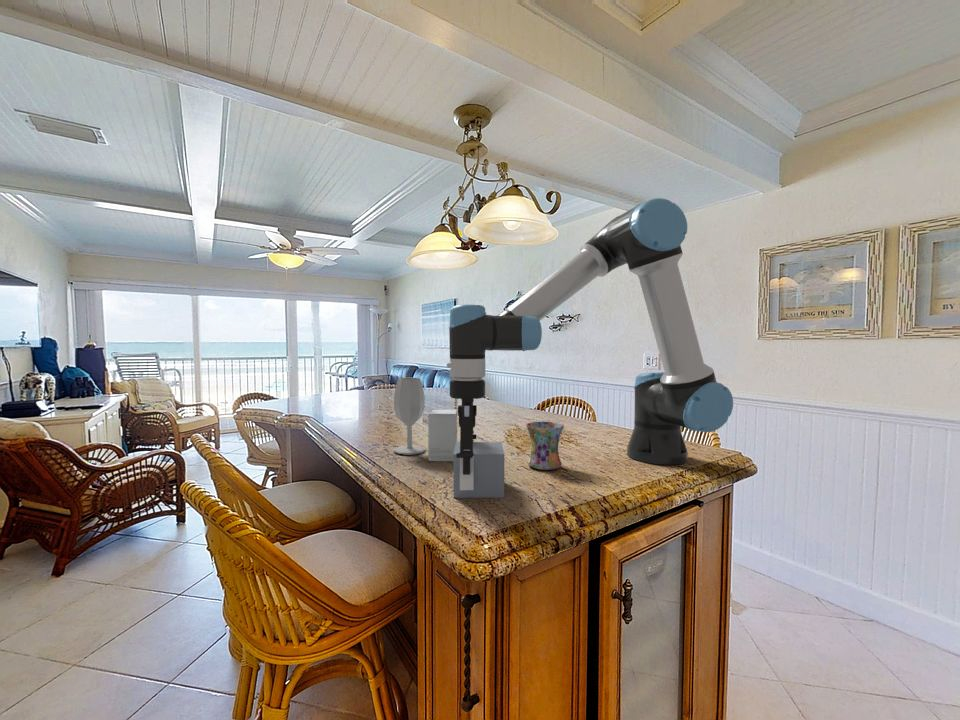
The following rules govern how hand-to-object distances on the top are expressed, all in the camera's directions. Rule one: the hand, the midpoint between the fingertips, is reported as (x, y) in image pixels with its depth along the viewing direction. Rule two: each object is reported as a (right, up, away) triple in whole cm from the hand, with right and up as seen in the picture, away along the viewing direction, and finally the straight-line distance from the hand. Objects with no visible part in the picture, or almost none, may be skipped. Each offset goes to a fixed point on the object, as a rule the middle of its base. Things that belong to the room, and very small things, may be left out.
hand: (467, 478), depth 89 cm
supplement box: (-7, -1, +24) cm, 25 cm away
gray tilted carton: (+2, -2, 0) cm, 3 cm away
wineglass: (-17, -1, +30) cm, 35 cm away
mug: (+19, -2, +17) cm, 26 cm away
